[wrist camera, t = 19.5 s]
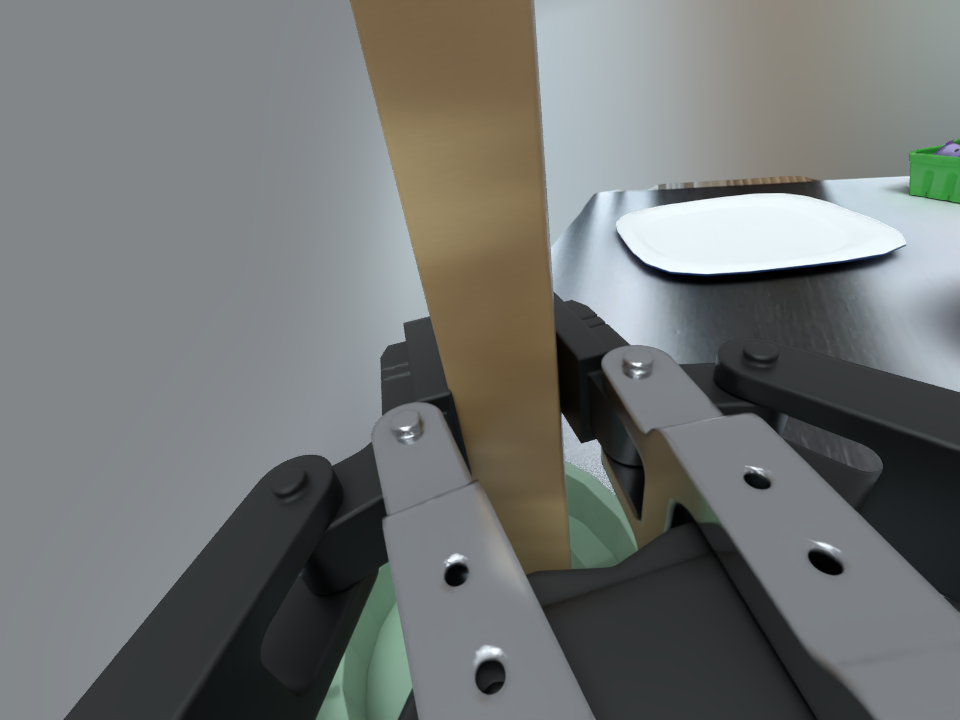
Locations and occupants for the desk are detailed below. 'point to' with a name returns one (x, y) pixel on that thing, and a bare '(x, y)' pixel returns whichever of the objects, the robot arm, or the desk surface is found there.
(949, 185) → the fruit basket
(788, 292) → the desk surface
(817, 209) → the plate
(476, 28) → the stirring stick
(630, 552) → the mixing bowl
